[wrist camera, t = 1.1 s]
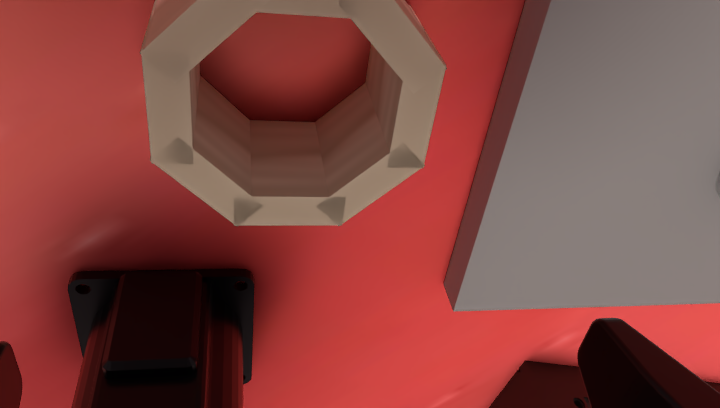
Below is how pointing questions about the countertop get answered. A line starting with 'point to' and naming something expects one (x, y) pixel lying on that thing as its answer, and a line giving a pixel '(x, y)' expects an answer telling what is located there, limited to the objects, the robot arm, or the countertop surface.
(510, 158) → the post board
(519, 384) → the wireless controller
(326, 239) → the countertop surface
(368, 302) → the countertop surface
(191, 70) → the ring
